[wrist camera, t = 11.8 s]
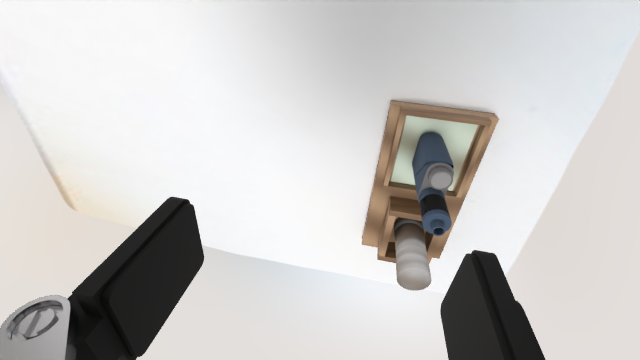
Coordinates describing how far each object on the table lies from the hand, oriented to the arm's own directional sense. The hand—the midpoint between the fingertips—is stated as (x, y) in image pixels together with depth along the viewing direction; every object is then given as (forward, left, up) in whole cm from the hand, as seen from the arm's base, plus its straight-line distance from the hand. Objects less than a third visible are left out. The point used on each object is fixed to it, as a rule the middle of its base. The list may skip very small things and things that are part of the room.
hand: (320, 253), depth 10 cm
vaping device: (+7, +8, -25) cm, 27 cm away
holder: (+13, +9, -26) cm, 31 cm away
